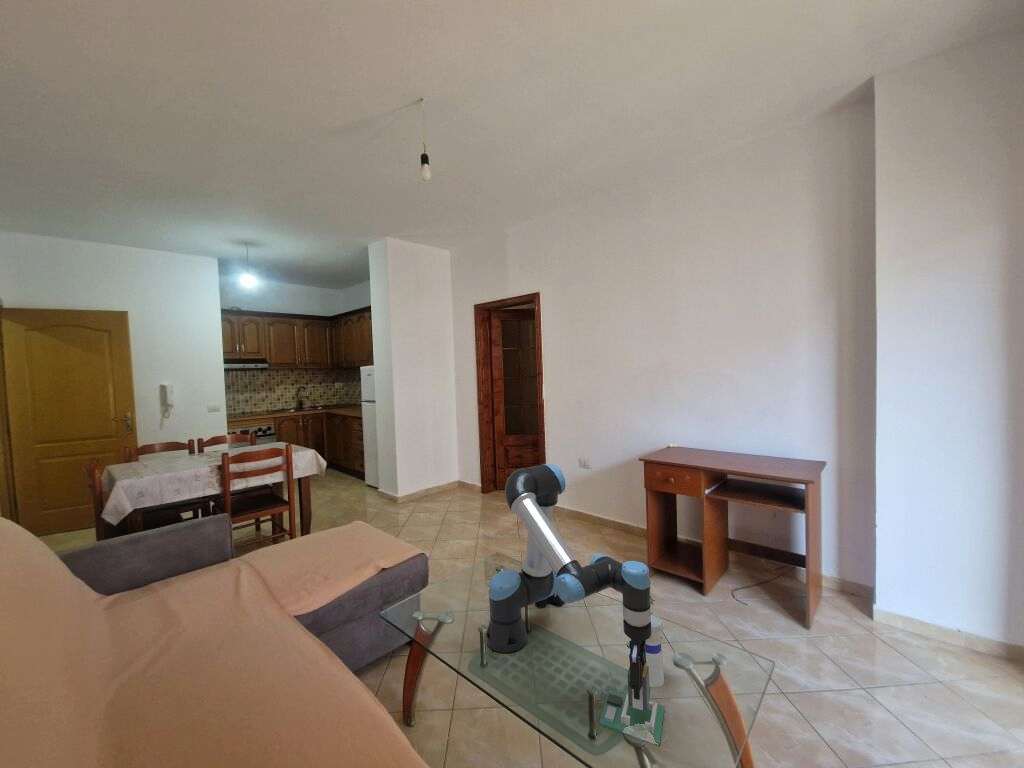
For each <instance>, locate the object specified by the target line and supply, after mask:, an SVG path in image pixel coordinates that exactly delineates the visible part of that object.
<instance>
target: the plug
mask: <svg viewBox="0 0 1024 768" xmlns="http://www.w3.org/2000/svg"><path fill="white" fill-rule="evenodd" d="M629 682H630V666H629V667H628V671H627V694H628V703H629V705H630V706H633V705H632V689H631V688H630V685H629ZM641 685H642V689H643V710H647V709H648V703H649V701H650V686H649V667H648V666H647V665H642V676H641Z"/></svg>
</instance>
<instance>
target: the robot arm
mask: <svg viewBox="0 0 1024 768" xmlns="http://www.w3.org/2000/svg"><path fill="white" fill-rule="evenodd" d="M566 485H567V484H566V479H565V475H564V474H563V471H562V470H561V468H560V467H559V466H558V465H556V464H554V463H542V464H538V465H534V466H528V467H523V468H518V469H516V470H513V472H511V474H510V475H509V476H508V478H507V480H506V483H505V487H504V496H505V501H506V504H507V506H508V507H509V509H510V511H511V513H513V514H514V515H517V516H518V518H519V519H520V521H521V522H522V524H523V526H524V527H525V529H526V530H527V540H526V541H527V543H526V556H525V557H526V558H525V559H524V560H523V561H522V563H521V571H520V572H518V571H516V570H513V569H512V570H511V569H509V570H502V571H499V572H497V573H496V574H494V575H493V576H492V577H491V578H490V579H489V580H490V581H489V584H488V600H489V601H488V602H489V621H488V626H487V629H486V632H485V643H486V645H487V646H488V647H489V648H490V649H491V650H492V651H496V652H497V653H512V652H515V651H518V650H520V649H522V648H523V647H524V646H525V645H526V643H527V641H528V632H527V628H526V626H525V623H524V621H523V618H522V609H523V608H525V607H528V606H531V605H533V604H535V603H536V602H538V601H541V600H545V599H547V598H548V597H550V596H552V595H553V594H554V593H555V591H556V590H557V591H558V596H559V597H560V599H561V600H562V601H564V604H573V603H575V602H579V601H582V600H583V599H586V598H588V597H590V596H592V595H594V594H597V593H600V592H603V591H604V590H607V589H609V588H610V589H612V590H615V591H616V592H618V593H620V594H622V595H621V596H622V617H623V625H622V626H623V633H624V634H625V635H626V636H627V638H629V639H630V640H629V646H628V647H629V651H630V652H629V655H628V659H629V667H630V682H629V685H630V688H631V689H632V705H633V708H637V709H640V710H643V689H642V685H641V676H642V665H645V664H646V640H647V639H649V638H650V637H651V615H652V614H654V611H653V610H651V608H652V607H651V605H652V604H650V596H651V584H652V582H651V577H650V570H649V567H648V566H647V565H646V564H645V563H644V562H641V561H637V560H628V561H625V562H620V561H619V560H616V559H615V558H613V557H612V556H608V555H605V554H603V553H602V554H601V553H598V554H595V555H594V557H593V558H591V560H590V562H589V564H588V565H585V566H582V565H581V564H580V563H579V561H578V560H577V558H576V557H575V555H574V553H572V551H571V550H570V548H569V547H568V545H567V544H566V542H565V540H564V539H563V538H562V536H561V535H560V533H559V532H558V530H557V529H556V527H555V526H554V525H553V524H552V521H553V510H554V507H555V506H557V504H558V499H559V495H562V494H563V493H564V492H565V489H566ZM555 575H556V576H557V577H558V578H557V577H556V576H555Z"/></svg>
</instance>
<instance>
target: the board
mask: <svg viewBox="0 0 1024 768" xmlns="http://www.w3.org/2000/svg"><path fill="white" fill-rule="evenodd" d="M607 693H608V694H607V697H606V698H605V699H606V700H605V702H604V706H603V709H602V712H601V714H600V718H599V723H598V725H599V726H601V727H603V728H606V729H608V730H611V729H612V731H614V730H615V732H618V733H620V734H623V733H622V731H623V730H624V728H625V727H628V726H634V725H635V724H638V723H639V724H644V725H645V729H646V730H647V731H648V732H650V733H651V734H652V735H653V737H654V740H655V742H656V743H658V744H660V745H661V739H660V737H661V736H662V732H663V731H662V730H663V725H662V722H663V723H664V717H663V715H664V716H665V705H662V704H659V703H657V702H654V701H650V700H649V703H648V709H647V710H640V709H637V708H633V706H630V705H629V703H628V693H622V692H618V691H616V690H612V689H609V690H608V692H607ZM661 731H662V732H661ZM661 738H662V737H661Z"/></svg>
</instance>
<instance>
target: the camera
mask: <svg viewBox="0 0 1024 768" xmlns="http://www.w3.org/2000/svg"><path fill="white" fill-rule="evenodd" d="M555 576H556V575H555ZM556 577H557V576H556ZM557 578H558V577H557ZM548 604H557V605H563V604H565V602H564V601H562V600H561V599H560V597H559V596H558V591H557V590H556V591H555V593H554V594H553V595H552V596H550V597H548V598H547V599H545V600H541V601H538V602H536V603H534V605H535V607H536V608H537V609H542V608H543V607H545V606H547V605H548Z"/></svg>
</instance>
